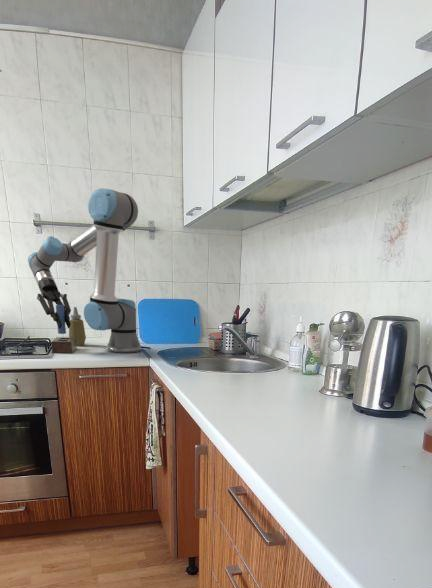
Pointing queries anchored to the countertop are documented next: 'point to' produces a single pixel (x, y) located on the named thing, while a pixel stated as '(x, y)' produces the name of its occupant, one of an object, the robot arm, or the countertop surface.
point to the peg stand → (63, 345)
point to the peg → (61, 318)
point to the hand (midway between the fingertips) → (64, 326)
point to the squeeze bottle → (77, 328)
